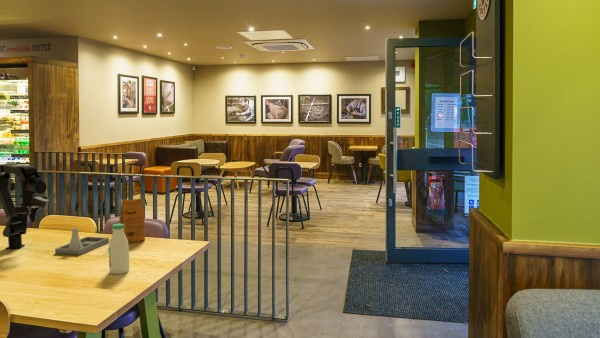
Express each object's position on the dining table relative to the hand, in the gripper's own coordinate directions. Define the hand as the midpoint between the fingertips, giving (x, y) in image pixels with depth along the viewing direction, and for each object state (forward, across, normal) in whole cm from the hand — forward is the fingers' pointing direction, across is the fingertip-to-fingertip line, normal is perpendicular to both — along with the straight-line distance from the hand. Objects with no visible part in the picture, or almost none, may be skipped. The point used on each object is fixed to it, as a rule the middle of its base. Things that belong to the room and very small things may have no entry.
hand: (29, 224), depth 228 cm
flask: (+12, -3, -21) cm, 25 cm away
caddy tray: (+13, +2, -23) cm, 27 cm away
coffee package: (+13, +14, -44) cm, 48 cm away
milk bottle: (+13, -38, -48) cm, 63 cm away
